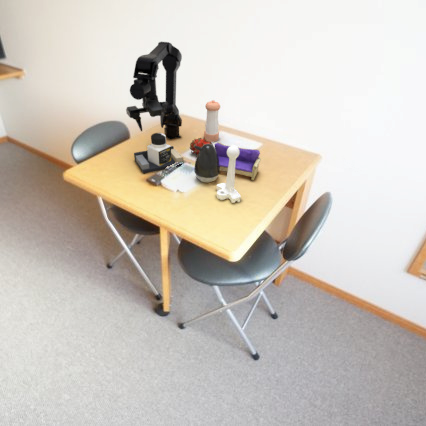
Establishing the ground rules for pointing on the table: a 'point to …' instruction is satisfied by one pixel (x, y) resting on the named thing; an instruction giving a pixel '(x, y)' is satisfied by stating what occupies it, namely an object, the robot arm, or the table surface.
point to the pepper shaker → (212, 121)
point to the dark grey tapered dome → (207, 163)
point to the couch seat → (148, 166)
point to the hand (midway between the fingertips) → (151, 129)
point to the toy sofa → (239, 160)
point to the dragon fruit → (198, 144)
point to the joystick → (229, 178)
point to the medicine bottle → (159, 149)
